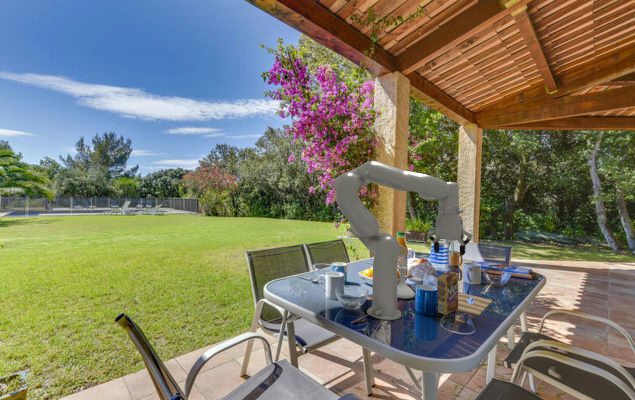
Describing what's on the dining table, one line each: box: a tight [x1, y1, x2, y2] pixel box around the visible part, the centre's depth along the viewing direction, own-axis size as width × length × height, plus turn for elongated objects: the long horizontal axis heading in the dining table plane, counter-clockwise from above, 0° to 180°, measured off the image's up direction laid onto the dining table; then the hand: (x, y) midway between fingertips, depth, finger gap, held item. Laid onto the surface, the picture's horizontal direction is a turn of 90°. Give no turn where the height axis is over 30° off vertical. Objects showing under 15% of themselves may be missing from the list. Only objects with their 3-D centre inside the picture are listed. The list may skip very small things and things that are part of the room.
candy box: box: [436, 271, 459, 316], centre depth 112 cm, size 9×4×15 cm, turn 123°
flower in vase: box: [397, 243, 416, 300], centre depth 132 cm, size 13×11×25 cm
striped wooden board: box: [455, 292, 494, 317], centre depth 122 cm, size 26×14×1 cm, turn 137°
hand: (449, 253), depth 113 cm, fingers open, 9 cm apart
